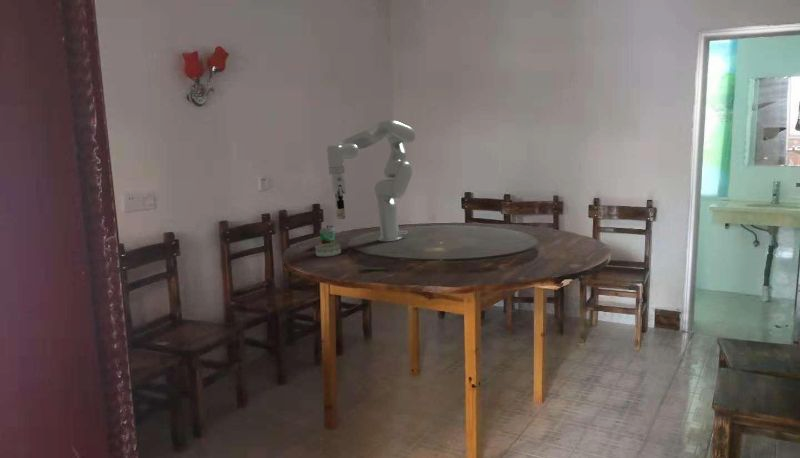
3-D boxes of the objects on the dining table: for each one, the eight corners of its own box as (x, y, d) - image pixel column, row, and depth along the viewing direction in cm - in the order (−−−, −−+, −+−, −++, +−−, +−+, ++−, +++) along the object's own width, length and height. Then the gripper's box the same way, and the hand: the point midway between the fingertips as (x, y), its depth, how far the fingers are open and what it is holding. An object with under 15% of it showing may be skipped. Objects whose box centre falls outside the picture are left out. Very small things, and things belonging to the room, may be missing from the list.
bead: (338, 249, 316) (337, 242, 315) (342, 254, 304) (341, 246, 303) (315, 253, 313) (314, 245, 312) (317, 257, 301) (317, 249, 301)
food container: (333, 248, 322) (330, 228, 320) (321, 248, 323) (319, 229, 322) (340, 243, 334) (337, 224, 332) (329, 243, 335) (326, 225, 333)
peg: (344, 217, 310) (341, 189, 307) (345, 218, 306) (343, 190, 304) (336, 218, 309) (333, 190, 306) (337, 219, 305) (335, 190, 303)
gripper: (347, 170, 297) (350, 209, 299) (341, 169, 313) (344, 205, 315) (331, 172, 295) (335, 210, 297) (326, 170, 311) (329, 207, 313)
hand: (340, 207), depth 306 cm, fingers closed on peg, 4 cm apart
